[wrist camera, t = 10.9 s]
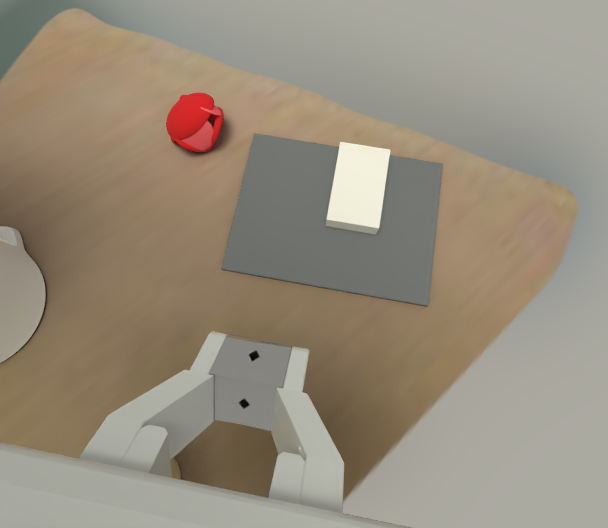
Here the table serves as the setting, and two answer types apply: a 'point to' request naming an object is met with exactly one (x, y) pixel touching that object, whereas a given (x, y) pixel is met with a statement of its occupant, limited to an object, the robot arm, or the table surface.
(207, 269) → the table surface
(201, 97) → the red rounded piece
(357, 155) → the tile
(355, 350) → the table surface
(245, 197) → the mat
